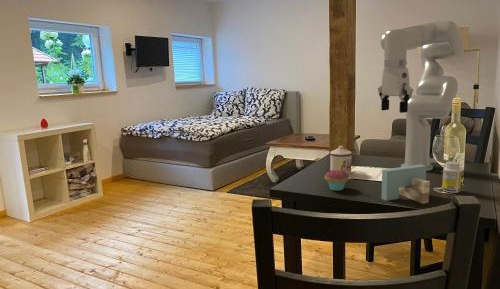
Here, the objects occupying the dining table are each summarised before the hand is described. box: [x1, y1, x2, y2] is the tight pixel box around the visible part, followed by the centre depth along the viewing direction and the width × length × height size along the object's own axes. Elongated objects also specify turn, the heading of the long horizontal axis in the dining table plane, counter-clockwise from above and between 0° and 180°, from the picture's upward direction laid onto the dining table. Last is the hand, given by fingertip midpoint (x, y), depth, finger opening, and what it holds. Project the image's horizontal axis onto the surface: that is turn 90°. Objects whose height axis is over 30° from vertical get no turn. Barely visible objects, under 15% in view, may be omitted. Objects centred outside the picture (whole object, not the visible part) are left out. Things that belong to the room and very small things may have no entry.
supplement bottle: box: [441, 160, 462, 194], centre depth 128 cm, size 6×6×10 cm
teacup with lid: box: [329, 145, 353, 176], centre depth 157 cm, size 12×9×12 cm
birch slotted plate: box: [399, 178, 431, 205], centre depth 125 cm, size 16×2×7 cm, turn 19°
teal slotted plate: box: [380, 165, 427, 202], centre depth 124 cm, size 16×2×10 cm, turn 109°
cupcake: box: [324, 157, 349, 191], centre depth 135 cm, size 9×8×12 cm
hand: (394, 111), depth 139 cm, fingers open, 9 cm apart
